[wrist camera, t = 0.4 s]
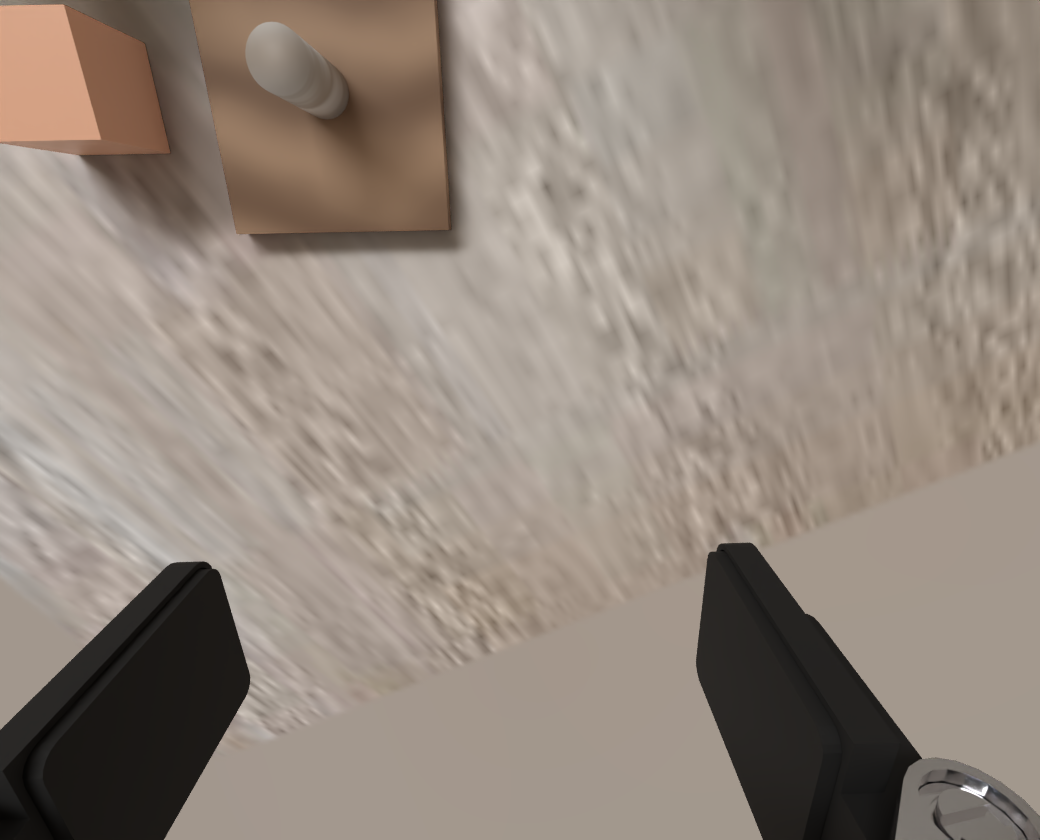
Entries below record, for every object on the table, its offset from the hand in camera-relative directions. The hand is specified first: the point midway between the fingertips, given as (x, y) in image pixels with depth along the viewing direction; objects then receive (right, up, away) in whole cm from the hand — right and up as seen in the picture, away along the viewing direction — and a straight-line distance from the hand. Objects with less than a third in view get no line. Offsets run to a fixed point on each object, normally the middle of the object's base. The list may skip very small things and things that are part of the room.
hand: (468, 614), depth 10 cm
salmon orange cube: (-25, +24, +23) cm, 41 cm away
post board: (-11, +24, +23) cm, 35 cm away
